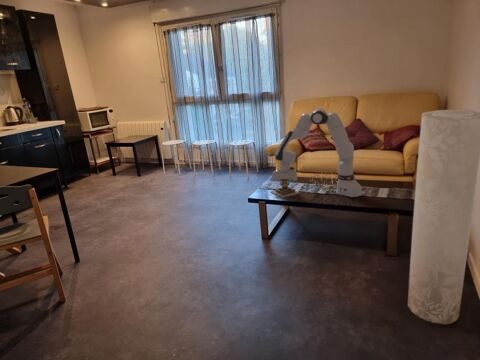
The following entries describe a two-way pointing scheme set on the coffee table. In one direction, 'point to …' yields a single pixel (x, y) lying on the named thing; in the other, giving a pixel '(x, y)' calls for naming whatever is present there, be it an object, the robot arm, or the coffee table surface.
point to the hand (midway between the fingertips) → (284, 185)
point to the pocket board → (285, 192)
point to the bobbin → (284, 185)
